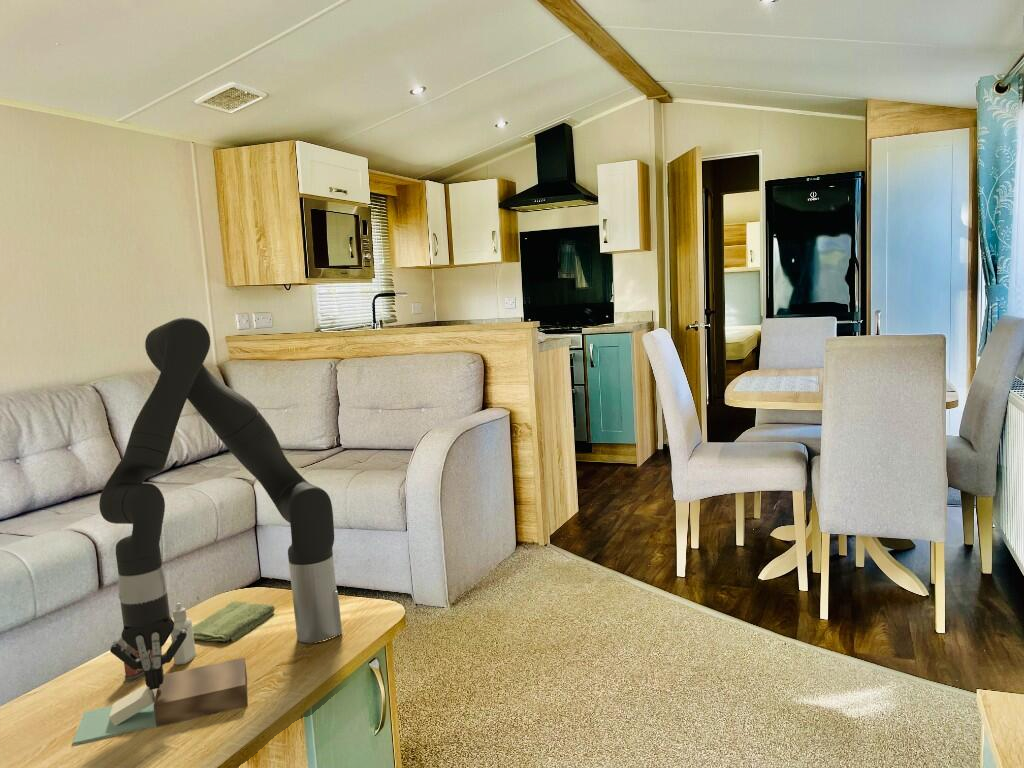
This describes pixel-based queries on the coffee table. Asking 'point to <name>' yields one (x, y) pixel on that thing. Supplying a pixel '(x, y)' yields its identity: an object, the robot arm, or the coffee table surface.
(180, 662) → the eye dropper bottle
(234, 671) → the wooden block
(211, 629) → the washcloth
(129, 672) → the lighter
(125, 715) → the tile
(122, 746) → the coffee table surface
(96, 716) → the mat
